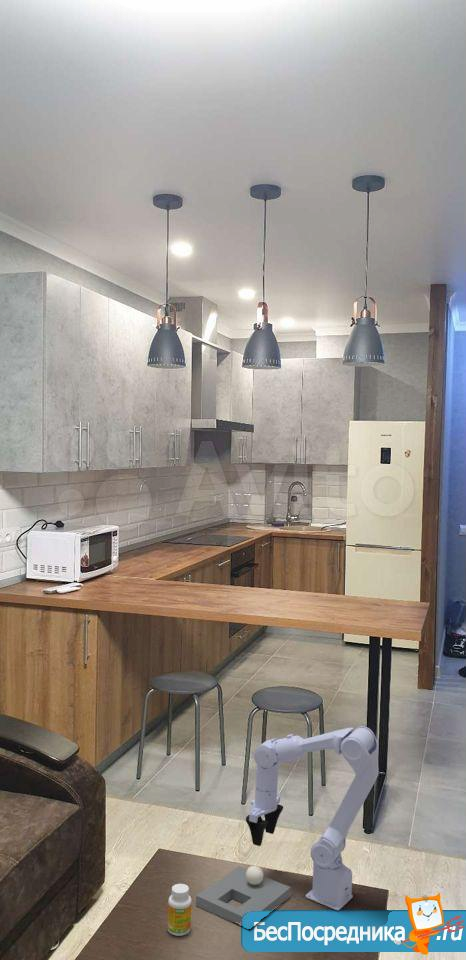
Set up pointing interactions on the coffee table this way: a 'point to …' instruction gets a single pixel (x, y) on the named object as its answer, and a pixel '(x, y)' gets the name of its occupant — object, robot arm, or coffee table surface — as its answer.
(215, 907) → the plate
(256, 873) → the ball
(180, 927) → the supplement bottle
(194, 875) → the coffee table surface
